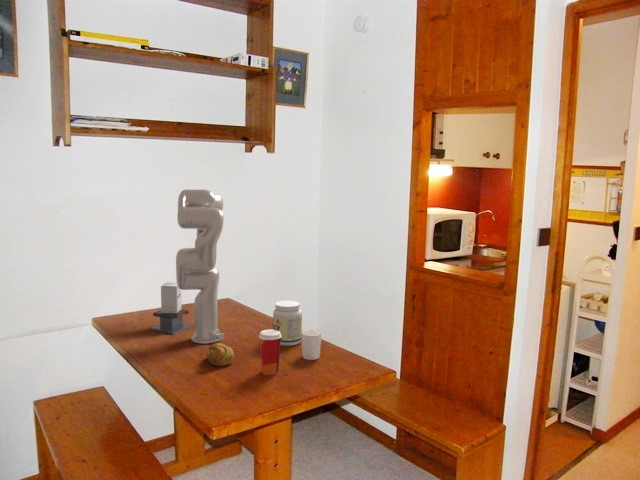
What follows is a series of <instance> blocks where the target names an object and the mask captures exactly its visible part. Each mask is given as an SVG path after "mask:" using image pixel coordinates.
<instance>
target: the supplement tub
mask: <svg viewBox="0 0 640 480" xmlns="http://www.w3.org/2000/svg"><path fill="white" fill-rule="evenodd" d="M274 308H275V309H274V311H273V314H272V318H273V319H272V321H273V322H272V326H273V327H272V330H277V331H280V333H281V335H282V337H281V340H280V346H283V347H284V346H286V347H290V346H291V347H292V346H296V345H298V344H300V343H302V338H301V332H302V331H303V311H302V309H301V303H300V302H299V301H296V300H279V301H276V302H275V307H274Z"/></svg>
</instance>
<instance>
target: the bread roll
mask: <svg viewBox="0 0 640 480" xmlns="http://www.w3.org/2000/svg"><path fill="white" fill-rule="evenodd" d="M206 359H207V361H208V362H209V363H210V364H211V365H213V366H215V367H225V366H228V365H230V364H232V363H233V362H234V359H235V353H234V351H233V349H232V347H231V346H228V345H226V344H224V343H223V342H222V343H221V342H214V343H211V345H209V347H208V348H207V350H206Z"/></svg>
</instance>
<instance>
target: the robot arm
mask: <svg viewBox="0 0 640 480" xmlns="http://www.w3.org/2000/svg"><path fill="white" fill-rule="evenodd" d="M177 200H178V201H177V224H178V227H180V228H182V229H183V230H185V229H186V230H187V229H188V230H189V229H190V230H192V229H193V230H196V239H195V241H194V247H186V248H181V249H179V250H178V251H177V252H176V255H175V271H176V272H175V274H176V283H177V285H178V287H179V288H180V289H181V291H191V290H192V291H193V290H195V291H197V290H199V292H198V293H197V294H196V296H195V298H194V334H193V335H192V336H191V337H190V338H191V341H192V342H193V343H195V344H196V343H197V344H204V345H205V344H215V343H218V342H219V341H221V340H223V339H224V337H225V332H221V331H220V328H218V319H219V317H218V294H219V293H218V290H219V284H220V283H219V282H220V271H219V269H217V268H216V267H215V266H216V264H217V248H218V247H217V244H218V241H219V239H220V237H221V234H222V232H223V227H224V213H223V209H224V200H223V197H222V195H220V194H217V193H216V194H215V193H213V192H212V191H210V190H209V189H183V190H181V191H180V193H179V195H178V198H177Z"/></svg>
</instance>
